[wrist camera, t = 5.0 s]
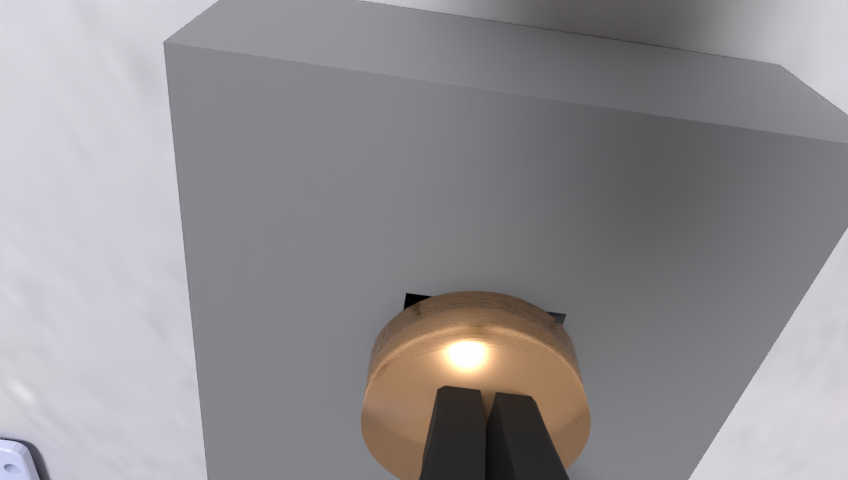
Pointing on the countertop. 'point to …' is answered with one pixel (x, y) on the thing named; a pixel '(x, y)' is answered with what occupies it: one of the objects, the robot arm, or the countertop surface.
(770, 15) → the countertop surface
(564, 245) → the block
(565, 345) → the plunger
